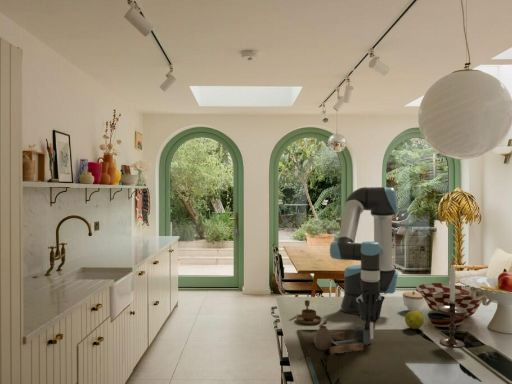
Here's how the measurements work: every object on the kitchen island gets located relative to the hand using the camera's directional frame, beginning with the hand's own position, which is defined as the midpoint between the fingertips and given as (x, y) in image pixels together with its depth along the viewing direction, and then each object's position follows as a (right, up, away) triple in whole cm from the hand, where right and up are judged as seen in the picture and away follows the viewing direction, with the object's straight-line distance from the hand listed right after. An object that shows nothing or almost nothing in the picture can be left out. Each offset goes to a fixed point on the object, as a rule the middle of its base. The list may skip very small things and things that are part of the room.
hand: (369, 337), depth 173 cm
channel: (-14, -2, -5) cm, 15 cm away
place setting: (-19, -2, +33) cm, 38 cm away
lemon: (+25, -2, +18) cm, 30 cm away
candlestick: (+33, -2, -2) cm, 33 cm away
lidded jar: (+36, -2, +48) cm, 60 cm away
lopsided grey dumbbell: (-10, -2, -3) cm, 10 cm away
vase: (-20, -2, -7) cm, 22 cm away
